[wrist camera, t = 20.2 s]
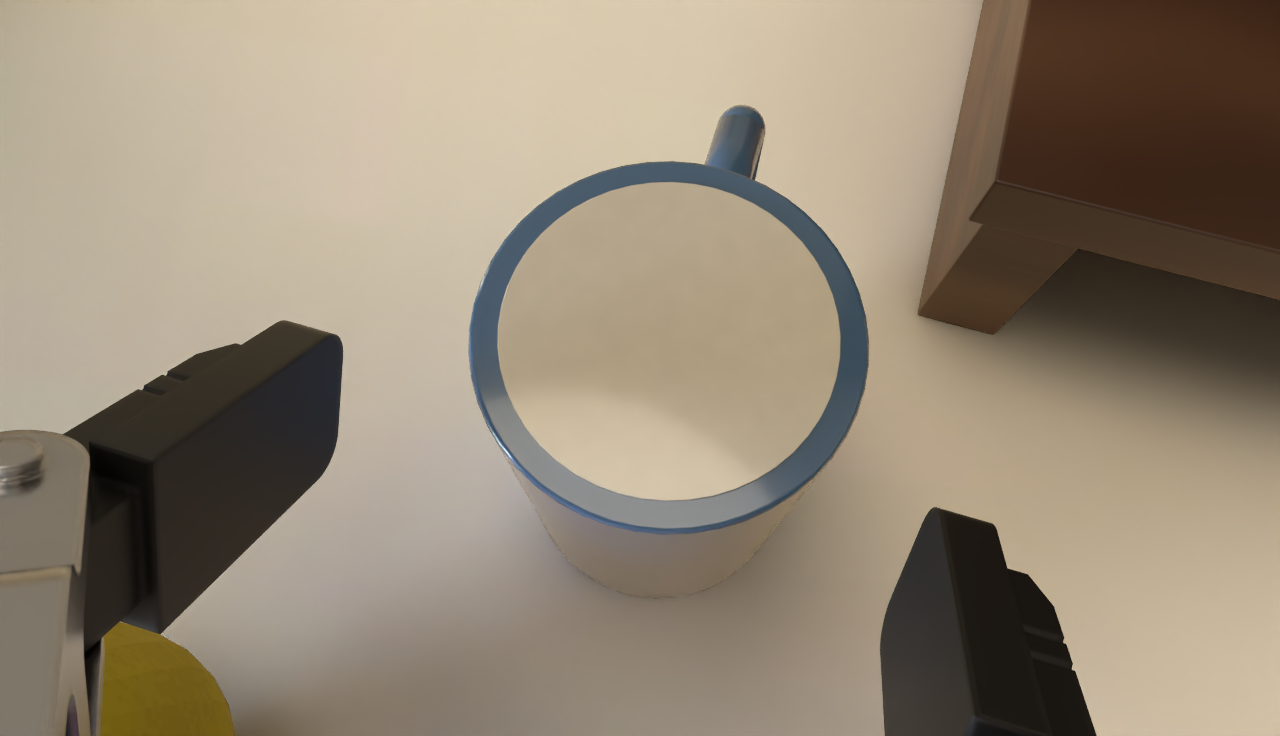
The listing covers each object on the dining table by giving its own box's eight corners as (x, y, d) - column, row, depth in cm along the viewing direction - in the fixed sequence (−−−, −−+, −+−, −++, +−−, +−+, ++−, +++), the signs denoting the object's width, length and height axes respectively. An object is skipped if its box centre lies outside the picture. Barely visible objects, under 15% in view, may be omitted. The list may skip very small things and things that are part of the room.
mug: (746, 631, 21) (820, 588, 12) (499, 555, 21) (405, 462, 13) (828, 307, 23) (935, 86, 15) (607, 247, 24) (589, 2, 15)
